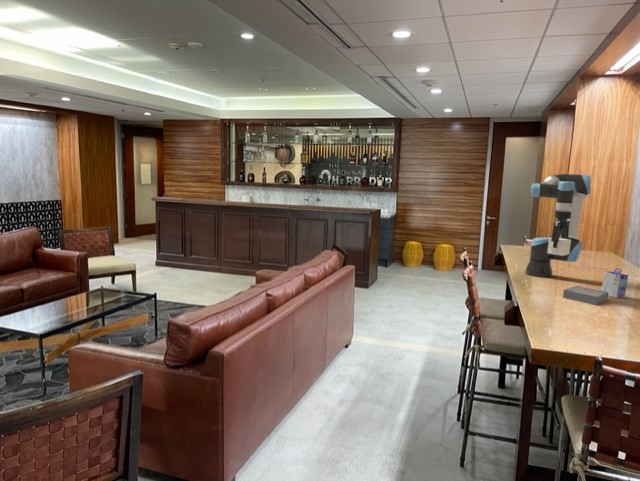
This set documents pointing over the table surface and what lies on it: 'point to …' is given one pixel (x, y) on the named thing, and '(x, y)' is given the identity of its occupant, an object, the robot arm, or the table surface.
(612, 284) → the ink cartridge box
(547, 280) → the table surface
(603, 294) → the charcoal riser
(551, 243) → the cream cube
